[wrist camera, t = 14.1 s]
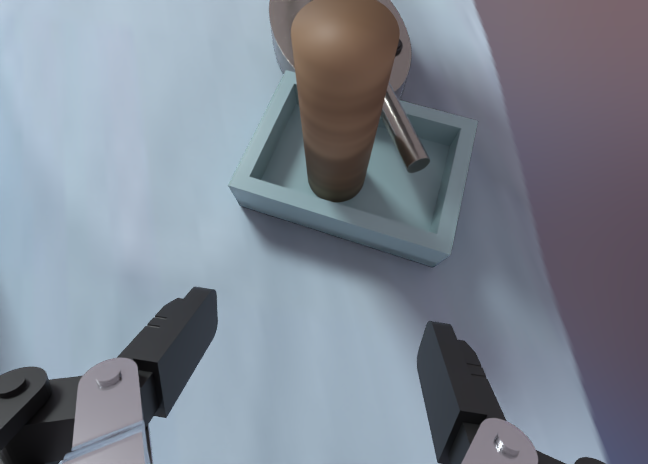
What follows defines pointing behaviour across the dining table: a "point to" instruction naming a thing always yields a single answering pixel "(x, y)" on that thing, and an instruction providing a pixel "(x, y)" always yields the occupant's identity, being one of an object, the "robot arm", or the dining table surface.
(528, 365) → the dining table surface
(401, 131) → the light fixture
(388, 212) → the bin
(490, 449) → the robot arm
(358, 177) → the dowel
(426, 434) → the dining table surface
